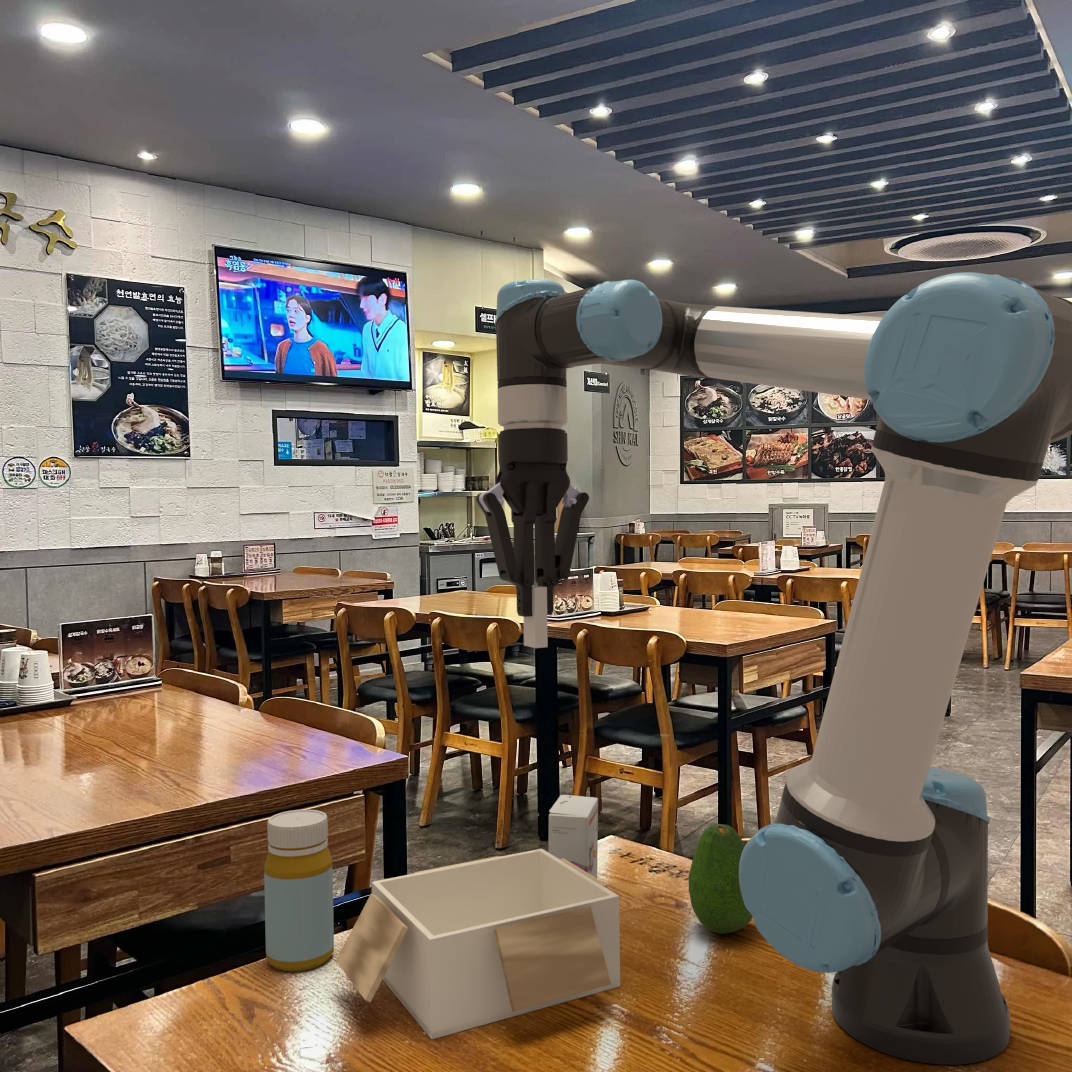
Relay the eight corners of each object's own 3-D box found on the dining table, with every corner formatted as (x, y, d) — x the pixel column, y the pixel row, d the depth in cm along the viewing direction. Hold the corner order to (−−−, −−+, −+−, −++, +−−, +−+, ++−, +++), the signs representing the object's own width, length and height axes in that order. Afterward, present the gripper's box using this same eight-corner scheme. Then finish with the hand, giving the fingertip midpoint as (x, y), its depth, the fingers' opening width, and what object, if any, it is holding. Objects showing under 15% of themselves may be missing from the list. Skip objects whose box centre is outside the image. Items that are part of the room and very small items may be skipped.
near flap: (587, 907, 95) (608, 985, 92) (494, 929, 90) (512, 1012, 87) (590, 906, 95) (611, 984, 92) (496, 928, 90) (514, 1011, 87)
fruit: (674, 933, 110) (673, 825, 110) (713, 911, 116) (712, 809, 115) (736, 954, 105) (735, 841, 104) (774, 930, 110) (773, 823, 110)
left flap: (403, 926, 91) (365, 1000, 89) (408, 928, 91) (370, 1002, 89) (371, 893, 99) (335, 960, 97) (376, 895, 99) (341, 962, 97)
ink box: (589, 916, 115) (588, 815, 115) (547, 913, 116) (545, 813, 116) (599, 888, 123) (598, 794, 123) (559, 886, 124) (558, 792, 124)
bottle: (274, 979, 100) (271, 832, 100) (259, 953, 106) (257, 814, 106) (342, 964, 103) (339, 821, 103) (323, 939, 110) (321, 804, 109)
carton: (627, 984, 98) (626, 894, 98) (431, 1039, 88) (429, 939, 88) (545, 923, 113) (544, 845, 113) (370, 964, 103) (369, 879, 103)
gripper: (567, 432, 113) (570, 638, 114) (463, 429, 107) (466, 646, 108) (602, 427, 107) (605, 645, 107) (493, 423, 101) (496, 655, 101)
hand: (535, 646), depth 108 cm, fingers closed
